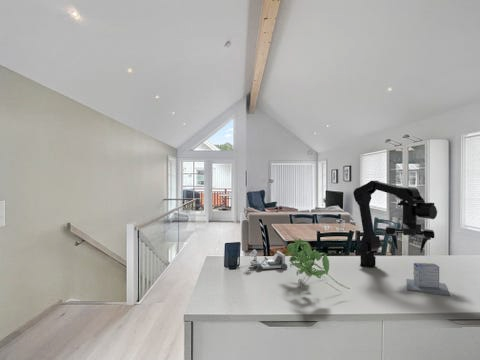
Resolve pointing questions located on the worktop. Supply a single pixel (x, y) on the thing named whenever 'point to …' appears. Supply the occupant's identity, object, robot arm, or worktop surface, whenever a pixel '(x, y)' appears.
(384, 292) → the worktop surface
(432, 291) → the mat
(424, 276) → the medicine box
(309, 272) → the plant cuttings
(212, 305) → the worktop surface
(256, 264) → the toy car
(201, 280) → the worktop surface
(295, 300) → the worktop surface
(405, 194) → the robot arm
